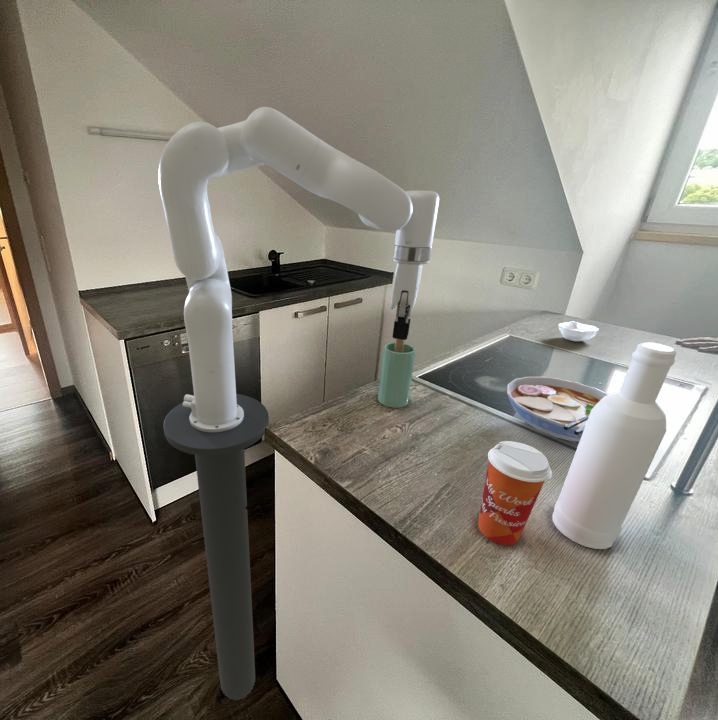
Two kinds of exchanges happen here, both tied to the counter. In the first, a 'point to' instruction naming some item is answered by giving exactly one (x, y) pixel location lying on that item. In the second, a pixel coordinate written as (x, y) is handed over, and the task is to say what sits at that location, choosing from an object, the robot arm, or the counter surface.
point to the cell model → (577, 331)
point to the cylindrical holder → (396, 375)
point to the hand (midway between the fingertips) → (400, 336)
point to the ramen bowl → (554, 404)
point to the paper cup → (511, 490)
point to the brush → (399, 345)
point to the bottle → (615, 452)
